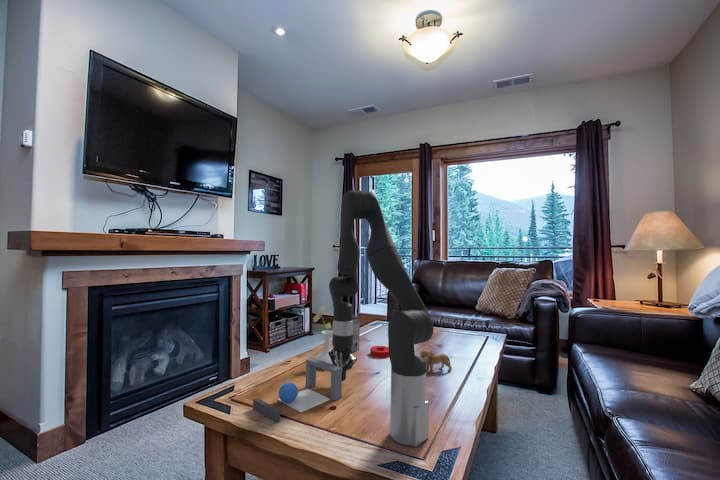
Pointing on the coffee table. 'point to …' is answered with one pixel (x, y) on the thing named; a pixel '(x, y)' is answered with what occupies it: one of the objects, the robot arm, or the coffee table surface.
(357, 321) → the coffee box
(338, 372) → the gray arch
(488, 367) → the coffee table surface
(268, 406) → the wall
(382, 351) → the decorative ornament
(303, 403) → the white panel
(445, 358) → the lion figurine
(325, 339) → the flower in vase
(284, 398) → the ball
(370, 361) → the coffee table surface
